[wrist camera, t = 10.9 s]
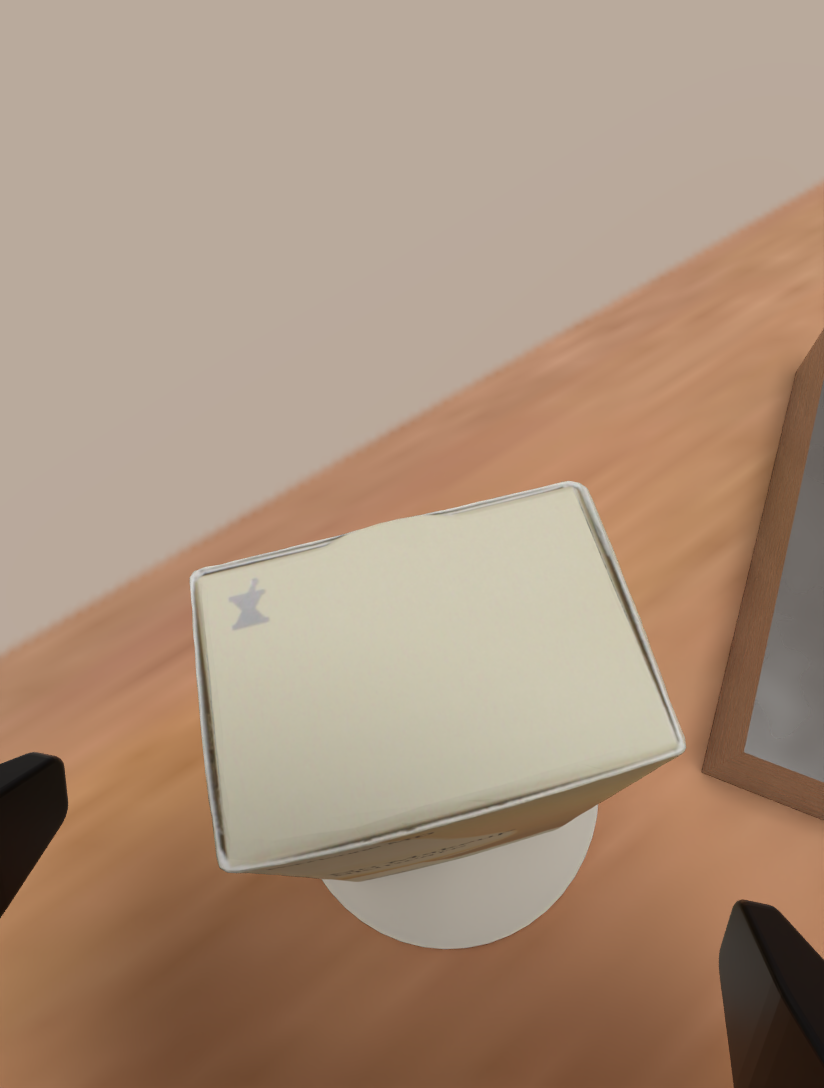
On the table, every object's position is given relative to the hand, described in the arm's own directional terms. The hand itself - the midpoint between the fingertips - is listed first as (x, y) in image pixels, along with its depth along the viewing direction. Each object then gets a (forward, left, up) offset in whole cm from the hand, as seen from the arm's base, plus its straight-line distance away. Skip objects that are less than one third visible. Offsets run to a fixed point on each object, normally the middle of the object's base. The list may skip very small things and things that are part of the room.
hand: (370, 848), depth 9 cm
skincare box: (+2, 0, -11) cm, 12 cm away
